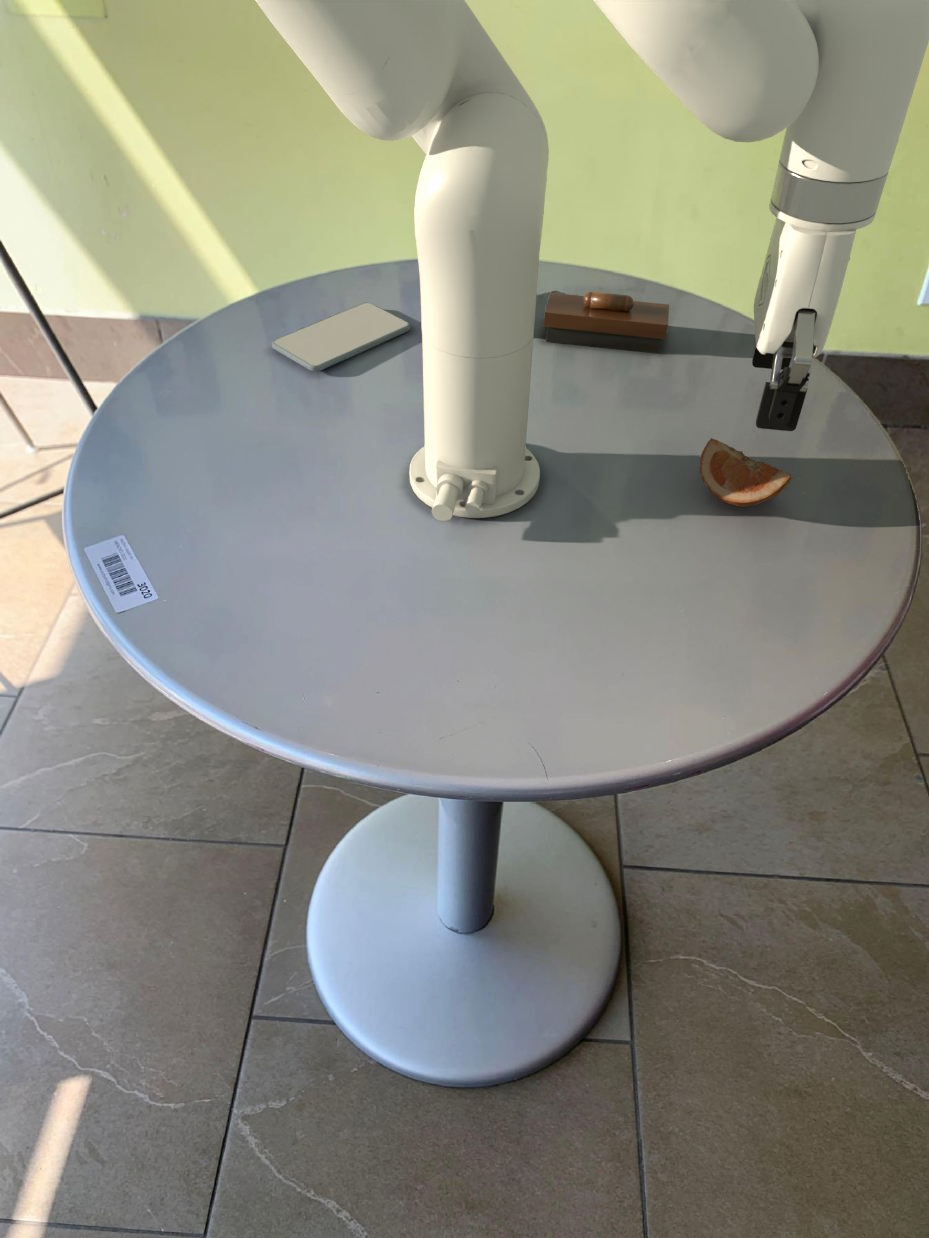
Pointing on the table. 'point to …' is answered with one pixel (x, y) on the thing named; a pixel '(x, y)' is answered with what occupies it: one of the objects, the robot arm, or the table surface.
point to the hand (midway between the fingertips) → (772, 396)
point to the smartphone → (340, 336)
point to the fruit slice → (739, 476)
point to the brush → (606, 321)
